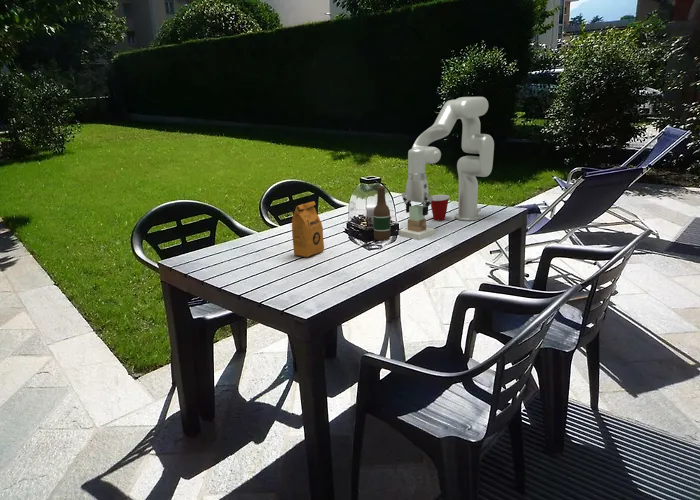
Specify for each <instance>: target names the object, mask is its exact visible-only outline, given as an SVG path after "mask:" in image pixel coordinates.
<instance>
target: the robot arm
mask: <svg viewBox="0 0 700 500" xmlns="http://www.w3.org/2000/svg"><path fill="white" fill-rule="evenodd" d="M488 109H489V101H488V100H487V98H486V97H484V96H462V97H458V98H456V99H450V100H446V102H445V103H444V105H443V106H442V108H441V110H440V112H439V113H438V115H437V117H436V119H435V121H434V123H433V124H432V125H431V126H430V127H428V128H427V129H426V130H424V131H423V132H422V133H420V135H419V136H418V137H417V138H416V140H415V141H414V143H413V145H412V147H411V149H409V150H408V152H407V153H408V154H407V159H408V160H407V165H408V166H407V167H408V171H407V173H408V175H407V177H408V179H406V180H407V181H406V187H405V192H402V193H401V197H402V200H403V202H404V205H405V213H406V214H407V213H409V207H410V206H412V203H411V202H414V203H421V204H422V206H424V207H423V216H425V217H426V216H428V215H429V207H430V206H431V202H432V200H433V198H432V197H431V196H432V195H430V194H429V183H428V180H427V177H428V176H427V174H426V165H427V164H428V165H429V164H431V165H432V164H436V163H438V162H439V161H440V160H441V156H442V152H441V150H440V149H439V148H437V147H435V146H429V145H430V144H432V143H433V142H435V141H438V140H441V139H443V138H446V137H447V136H449V134H451V131H452V130H453V128H454V126H455V124H456V122H457V120H461V123H462V130H461V131H462V132H461V133H462V134H461V149H462V151H463V153H467V154H476V155H477V154H479V156H476V155H465V156H462V157H460V158H459V159H458V160H457V163H456V169H457V174H458V202H457V203H458V204H457V205H458V208H457V209H458V212H457V214H455V215H454V218H455V219H456V220H458V221H463V222H464V221H465V222H467V221H468V222H469V221H477V220H480V219H481V215H480V214H478V213H479V212H481V211H482V208H481V207H478V198H479V195H478V194H479V193H478V192H479V182H478V179H477V177H482V178H485V177H488V176H489V175H490V174H491V173H492V170H493V165H494V164H493V163H494V151H495V141H494V139H493V137H492V136H491V135H490V134H487V133H481V121H480V117H481V116H484V115H486V113H487V112H488Z"/></svg>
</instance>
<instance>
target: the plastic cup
mask: <svg viewBox="0 0 700 500" xmlns="http://www.w3.org/2000/svg"><path fill="white" fill-rule="evenodd" d="M430 196H431V197H432V198H433V200H432V202H431V204H430V208H431V213H432V217H433V221H438V222H440V221H445V220H446V215H447V212H448V211H447V210H448V203H449V200H450V195H448V194H435V195H430Z"/></svg>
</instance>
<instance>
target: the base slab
mask: <svg viewBox="0 0 700 500" xmlns="http://www.w3.org/2000/svg"><path fill="white" fill-rule="evenodd" d="M434 235H436V228H432V227H427V226H426V230H423V231H420V232H415V231H410V230H408V226H407V227H405V228H402V229H401V228H400V229H399V230H398V236H399V237H404V238H408V239H414V240H417V241H420V240H423V239H426V238H428V237H432V236H434Z"/></svg>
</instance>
